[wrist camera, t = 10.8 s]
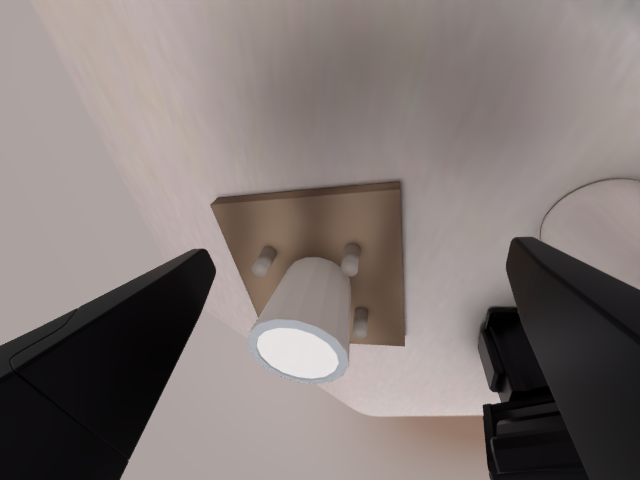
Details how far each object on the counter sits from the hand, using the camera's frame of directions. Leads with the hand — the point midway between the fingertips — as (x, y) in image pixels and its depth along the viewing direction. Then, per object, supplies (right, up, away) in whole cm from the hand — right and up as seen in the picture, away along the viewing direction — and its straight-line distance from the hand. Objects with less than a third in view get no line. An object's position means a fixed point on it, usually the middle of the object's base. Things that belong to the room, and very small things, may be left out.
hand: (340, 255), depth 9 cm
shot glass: (-1, -3, +16) cm, 16 cm away
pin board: (-1, -3, +17) cm, 17 cm away
